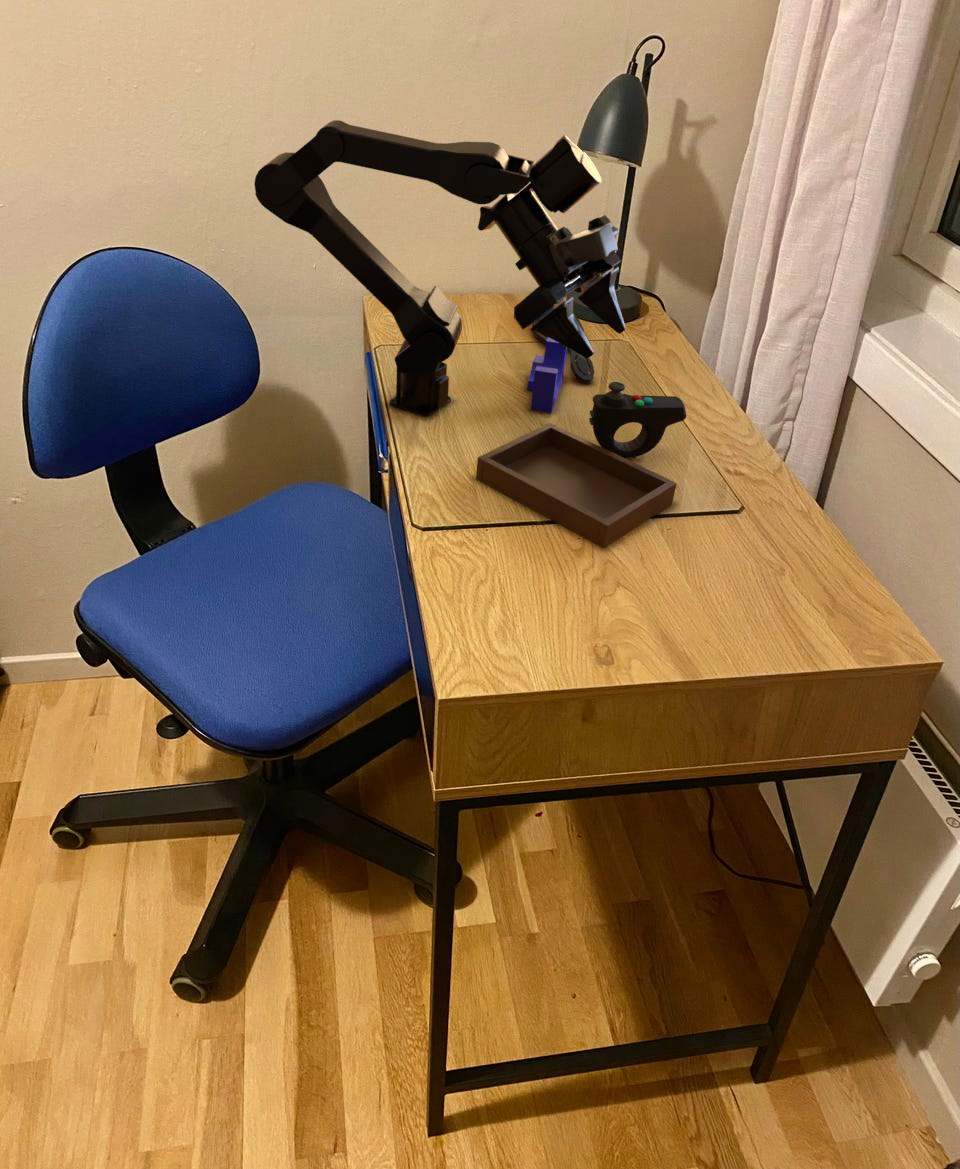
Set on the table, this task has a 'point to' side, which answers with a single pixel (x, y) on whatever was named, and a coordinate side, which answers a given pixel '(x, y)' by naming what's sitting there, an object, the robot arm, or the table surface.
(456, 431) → the table surface
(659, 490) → the tray
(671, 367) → the table surface
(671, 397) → the controller
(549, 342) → the purple stepped block
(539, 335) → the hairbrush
